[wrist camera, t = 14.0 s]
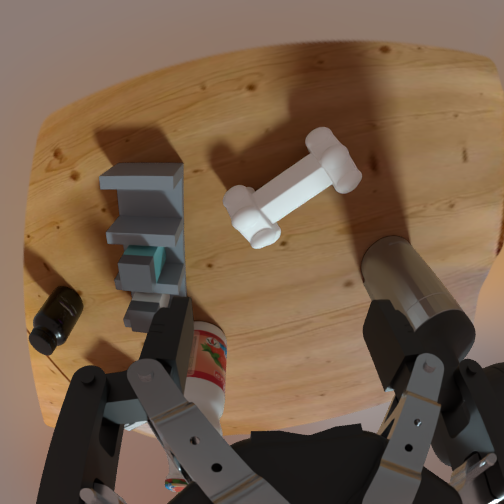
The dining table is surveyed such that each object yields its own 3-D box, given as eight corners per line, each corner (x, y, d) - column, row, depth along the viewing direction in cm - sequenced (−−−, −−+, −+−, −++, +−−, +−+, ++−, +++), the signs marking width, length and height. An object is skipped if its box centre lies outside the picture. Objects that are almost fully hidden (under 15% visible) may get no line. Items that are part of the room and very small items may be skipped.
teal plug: (164, 233, 40) (149, 265, 33) (166, 258, 42) (152, 293, 35) (137, 232, 40) (117, 263, 33) (140, 256, 42) (122, 290, 35)
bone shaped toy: (259, 230, 42) (266, 266, 36) (219, 185, 38) (218, 215, 31) (349, 169, 38) (375, 195, 31) (316, 116, 34) (339, 131, 27)
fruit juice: (173, 316, 49) (140, 475, 25) (229, 321, 50) (223, 485, 26) (176, 352, 54) (153, 492, 30) (226, 357, 55) (221, 500, 30)
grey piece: (187, 306, 48) (182, 332, 43) (135, 302, 48) (125, 326, 42) (183, 163, 36) (173, 176, 31) (118, 163, 36) (99, 176, 31)
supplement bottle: (84, 292, 47) (56, 340, 36) (84, 318, 50) (60, 365, 39) (52, 279, 45) (20, 324, 35) (54, 306, 48) (27, 350, 38)
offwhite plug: (170, 297, 46) (159, 334, 39) (145, 295, 46) (132, 331, 39) (168, 276, 44) (156, 312, 37) (142, 275, 44) (127, 309, 37)
